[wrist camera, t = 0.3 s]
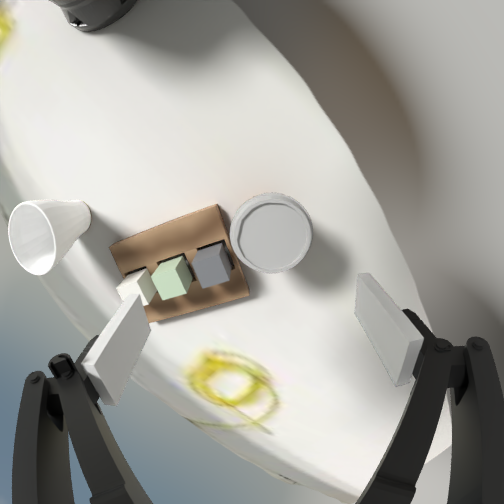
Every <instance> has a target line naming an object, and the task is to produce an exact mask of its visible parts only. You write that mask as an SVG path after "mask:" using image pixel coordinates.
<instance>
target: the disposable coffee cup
mask: <svg viewBox="0 0 504 504" xmlns="http://www.w3.org/2000/svg"><path fill="white" fill-rule="evenodd" d="M312 237H313V226H312V222H311V219H310V216H309V214H308V212H307V211H306V209H305V208H304V207H303V206H302V205H301V204H300V203H299V202H298V201H296V200H295V199H293V198H292V197H290V196H287V195H284V194H280V193H264V194H260V195H257V196H254V197H253V198H251V199H249V200H248V201H246V202H245V203H244V204H243V205H242V206H241V207H240V208H239V209H238V210H237V212H236V213H235V215H234V217H233V219H232V223H231V226H230V241H231V245H232V247H233V250H234V252H235V254H236V255H237V257H238V258H239V259H240V260H241V261H242V262H243V263H244V264H245V265H247V266H248V267H250V268H252V269H254V270H256V271H260V272H263V273H280V272H284V271H287V270H289V269H291V268H293V267H294V266H295V265H297V264H298V263H299V262H300V261H301V260H302V259H303V258H304V256H305V255H306V254H307V252H308V250H309V248H310V246H311V242H312Z"/></svg>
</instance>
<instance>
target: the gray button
mask: <svg viewBox="0 0 504 504" xmlns="http://www.w3.org/2000/svg"><path fill="white" fill-rule="evenodd" d="M191 264H192V266H193V268H194V270H195V273H196V275H197V277H198V280H199V282H200V284H201V286H202V289H203V288H207V287H210V286H213V285H217V284H220V283H223V282H227V281H229V280H230V274H231V267H232V266H231V264H230V261H229V259H228V256H227V254H226V251H225V248H224V246H223V243H220V244H217V245H214V246H211V247H208V248H205V249H202V250H199V251H197V253H196V255H195V257H194V259H193V261H192V263H191Z"/></svg>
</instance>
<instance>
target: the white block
mask: <svg viewBox="0 0 504 504" xmlns="http://www.w3.org/2000/svg"><path fill="white" fill-rule="evenodd" d="M116 289H117V291H118V293H119V295H120V297H121V299H122V300H123V302H124V301H125V299H126V298H127V296H128V295H129V294H140V296H141V300H142V303H143V306H145V305H149V303H150V301H151V300H152V298H153V296H154V295H155V293H156V292H157V288H156V286H155V284H154V282H153V280H152V278H151V276H150V274H149V272H148V269H147V268H146V269H143V270H140V271H138V272H135V273H132V274H129V275H127V276H126V278H125V279H124V280H123V281H122V282H121V283H120V284H119V285H118V287H117V288H116Z"/></svg>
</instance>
